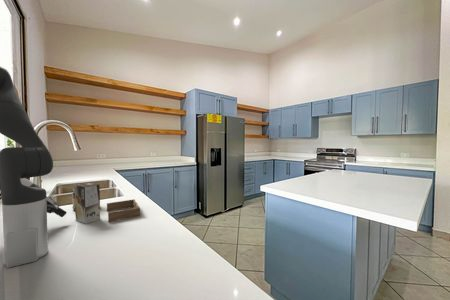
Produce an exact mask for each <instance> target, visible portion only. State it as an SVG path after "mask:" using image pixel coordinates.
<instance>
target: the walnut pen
mask: <svg viewBox="0 0 450 300" xmlns="http://www.w3.org/2000/svg"><path fill="white" fill-rule="evenodd" d="M140 209H141V208H140V206H139V204H138V202H137V201H136V199H127V200H120V201H114V202H108V203H106V212H107V215H108V216H107V220H108V221H107V222H108V223H112V222H116V221H121V220H126V219H132V218H137V217H140V216H141V210H140Z"/></svg>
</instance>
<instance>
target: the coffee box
mask: <svg viewBox="0 0 450 300" xmlns="http://www.w3.org/2000/svg"><path fill="white" fill-rule="evenodd" d="M74 186H75V210H74V211H75V215H74V216H75V221H76V222H79V223H82V224H86V225H88V224H89V223H93V222H97V221H99V220H101V199H100V198H101V191H100V184H99V183H94V182H93V183H92V182H84V183H79V184H74ZM74 186H73V187H74Z"/></svg>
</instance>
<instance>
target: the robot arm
mask: <svg viewBox="0 0 450 300" xmlns="http://www.w3.org/2000/svg"><path fill="white" fill-rule="evenodd" d="M0 134H1V135H2V136H5V137H6V138H7V139H10V140H12V141H14V142H15V143H17V144H18V145H20V146H19V147H18V146H17V147H15V146H14V147H4V148H2V149H1V150H0V194H1V195H0V196H1V207H2V214H1V215H2V240H3V242H2V243H3V256H4V257H3V259H4V260H3V262H4V263H3V264H4V265H5V266H6V269H7V268H8V269H9V268H12V267H16V266H20V265H21V266H22V265H26V264H28V263H33V262H37V261H39V259H40V258H42V257H44V256H45V255H47V253H48V251H49V243H48V240H49V237H48V236H49V235H48V214H55V215H57V216H59V217H60V218H63V217H64V216H65V215H67V211H66V210H64V209H63V208H61V207H60V205H59V203H57V202H56V201H55V200H54V198H52V197H51V196H47V190H46V189H45V188H42V187H40V185H37V184H36V183H34V182H32V181H31V180H29V179H30V178H39V177H43V176H47V175H49V174H51V172H52V171H53V168H54V161H53V157H52V155H51V152H50V151H49V149H48V148H47V147H48V146H46V144H45V142H43V140H42V139H41V138H40V136H39V135H38V133H37V131H36V129H35V128H34V125H33V123H32V121H31V119H30V118H29V115H28V113H27V112H26V109H25V108H24V106H23V104H22V102H21V100H20V98H19V96H18V94H17V91H16V88H15V85H14V81H13V78H12V76H11V74H10V72H9V71H8V69H7V68H4V67H2V66H0Z"/></svg>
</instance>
